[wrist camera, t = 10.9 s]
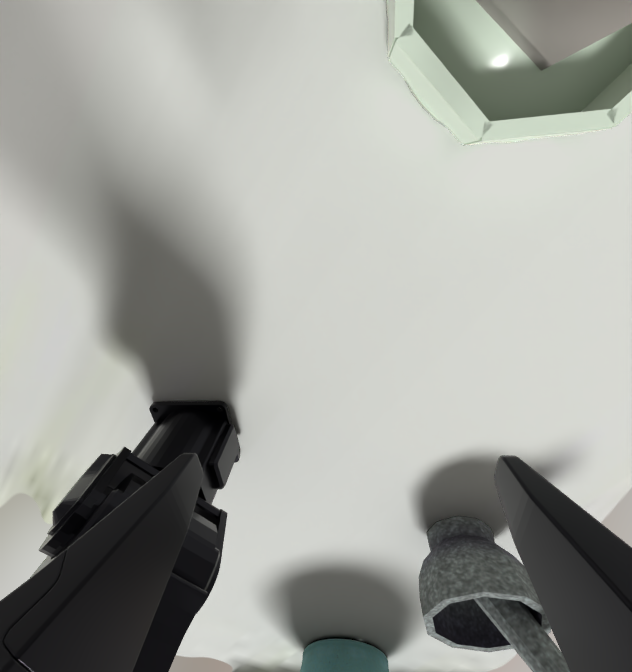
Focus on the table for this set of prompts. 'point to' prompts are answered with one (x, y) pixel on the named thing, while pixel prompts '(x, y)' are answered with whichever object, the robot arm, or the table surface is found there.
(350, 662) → the flower pot
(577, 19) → the tumbler
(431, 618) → the mortar and pestle
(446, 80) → the dish
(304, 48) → the table surface
